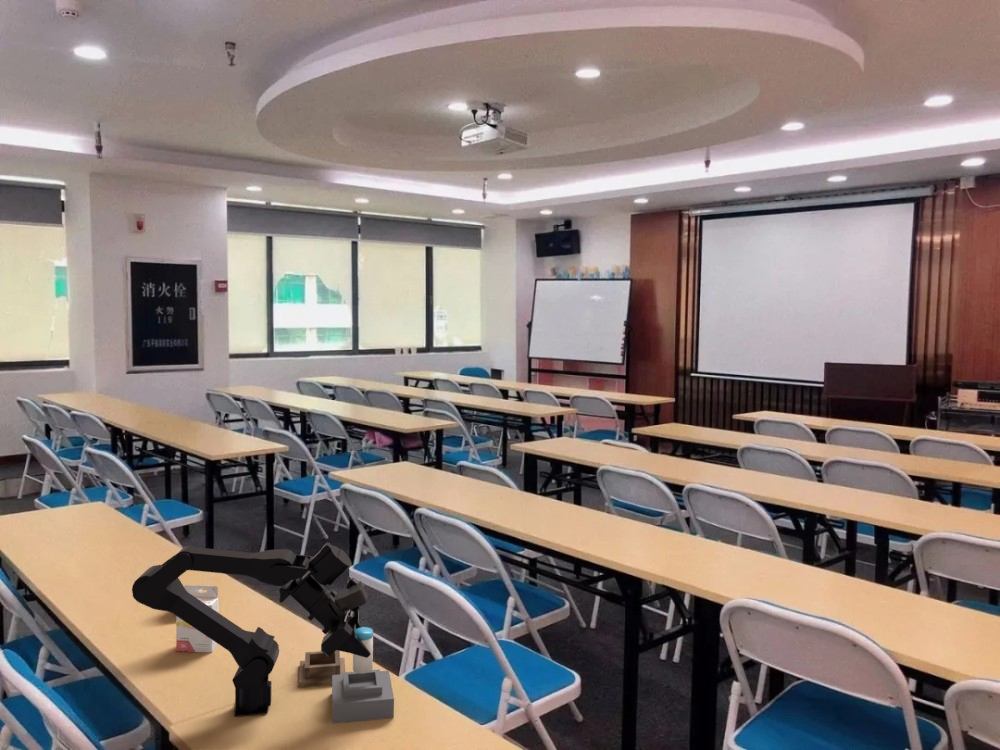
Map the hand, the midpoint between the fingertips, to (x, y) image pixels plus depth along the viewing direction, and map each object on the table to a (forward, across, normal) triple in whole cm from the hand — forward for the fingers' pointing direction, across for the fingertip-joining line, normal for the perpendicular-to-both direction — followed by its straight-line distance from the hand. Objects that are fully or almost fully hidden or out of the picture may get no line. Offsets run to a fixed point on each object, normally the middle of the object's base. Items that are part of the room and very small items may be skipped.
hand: (369, 650), depth 154 cm
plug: (+2, 0, +4) cm, 4 cm away
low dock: (0, +14, +16) cm, 21 cm away
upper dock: (+7, 0, +9) cm, 12 cm away
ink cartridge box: (-22, +28, +38) cm, 52 cm away
